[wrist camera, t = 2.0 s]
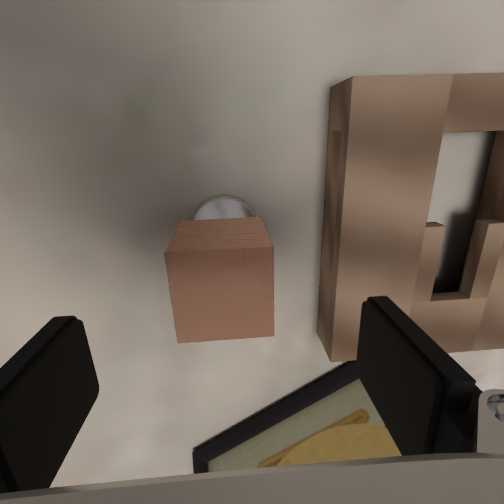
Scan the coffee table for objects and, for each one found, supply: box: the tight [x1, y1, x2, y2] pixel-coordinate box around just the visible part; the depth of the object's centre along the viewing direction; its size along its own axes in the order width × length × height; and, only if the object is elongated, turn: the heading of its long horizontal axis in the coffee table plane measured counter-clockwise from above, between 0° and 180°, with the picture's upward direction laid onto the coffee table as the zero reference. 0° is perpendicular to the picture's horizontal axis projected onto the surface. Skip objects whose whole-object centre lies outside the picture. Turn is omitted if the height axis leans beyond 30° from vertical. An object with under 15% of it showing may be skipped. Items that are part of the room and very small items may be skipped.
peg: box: [164, 195, 274, 343], centre depth 16 cm, size 4×4×10 cm
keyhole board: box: [317, 73, 504, 362], centre depth 20 cm, size 18×16×4 cm
